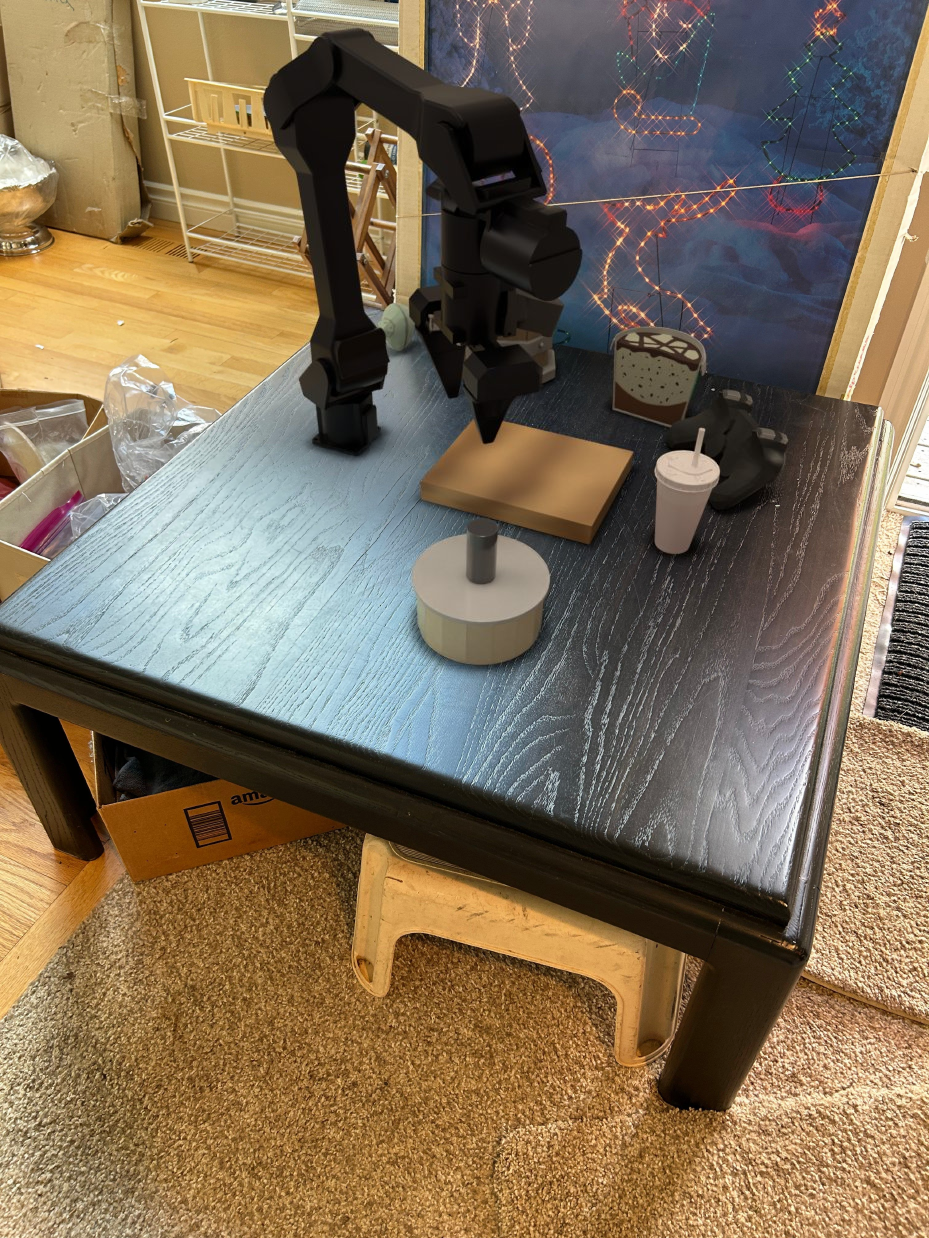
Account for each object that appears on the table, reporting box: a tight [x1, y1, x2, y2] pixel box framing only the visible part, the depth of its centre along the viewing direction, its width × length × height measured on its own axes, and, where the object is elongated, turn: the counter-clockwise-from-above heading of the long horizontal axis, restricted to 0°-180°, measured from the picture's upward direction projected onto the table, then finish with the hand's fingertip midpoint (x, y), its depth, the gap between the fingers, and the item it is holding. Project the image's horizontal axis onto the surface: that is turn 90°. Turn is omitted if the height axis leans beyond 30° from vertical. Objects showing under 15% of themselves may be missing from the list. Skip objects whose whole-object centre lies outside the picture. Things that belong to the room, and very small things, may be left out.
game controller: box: [666, 389, 789, 511], centre depth 105 cm, size 16×7×10 cm, turn 13°
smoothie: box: [654, 428, 721, 555], centre depth 92 cm, size 6×6×14 cm
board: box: [420, 418, 634, 546], centre depth 104 cm, size 20×16×2 cm
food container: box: [609, 326, 707, 429], centre depth 114 cm, size 12×6×10 cm, turn 58°
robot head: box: [376, 302, 415, 352], centre depth 127 cm, size 8×4×7 cm, turn 134°
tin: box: [416, 596, 545, 666], centre depth 85 cm, size 12×12×5 cm
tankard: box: [461, 328, 556, 385], centre depth 119 cm, size 20×13×15 cm, turn 133°
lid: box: [411, 517, 551, 626], centre depth 82 cm, size 13×13×7 cm
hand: (469, 419), depth 89 cm, fingers open, 9 cm apart
